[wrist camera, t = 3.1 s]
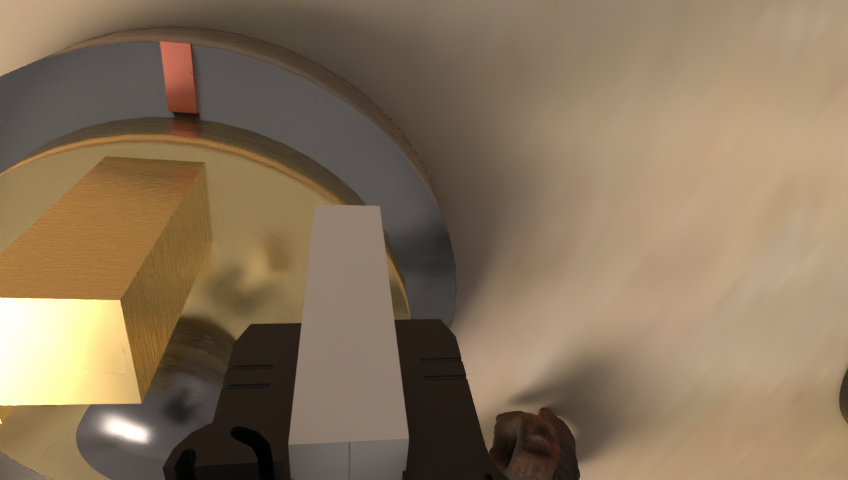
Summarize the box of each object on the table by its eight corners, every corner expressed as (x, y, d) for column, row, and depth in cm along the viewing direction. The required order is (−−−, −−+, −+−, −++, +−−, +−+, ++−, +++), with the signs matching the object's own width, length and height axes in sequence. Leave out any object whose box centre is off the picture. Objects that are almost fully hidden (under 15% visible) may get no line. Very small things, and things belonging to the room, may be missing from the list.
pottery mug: (567, 482, 34) (541, 627, 29) (431, 429, 36) (383, 554, 31) (630, 390, 26) (612, 570, 20) (449, 327, 28) (386, 475, 22)
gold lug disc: (389, 446, 24) (407, 670, 17) (29, 456, 22) (-133, 724, 14) (428, 135, 17) (492, 293, 10) (-109, 95, 14) (-590, 269, 7)
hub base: (477, 53, 19) (566, 136, 11) (418, 417, 28) (444, 598, 21) (-134, -9, 16) (-590, 47, 8) (27, 425, 25) (-113, 641, 18)
